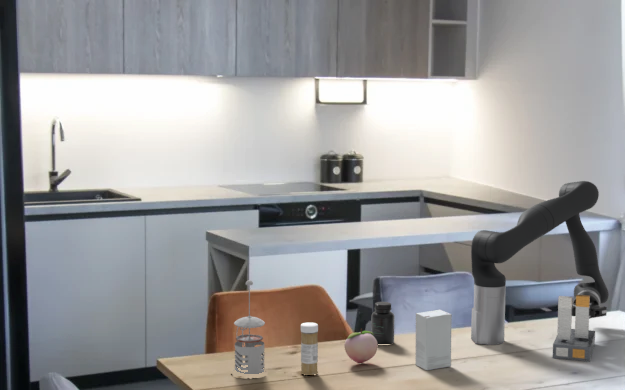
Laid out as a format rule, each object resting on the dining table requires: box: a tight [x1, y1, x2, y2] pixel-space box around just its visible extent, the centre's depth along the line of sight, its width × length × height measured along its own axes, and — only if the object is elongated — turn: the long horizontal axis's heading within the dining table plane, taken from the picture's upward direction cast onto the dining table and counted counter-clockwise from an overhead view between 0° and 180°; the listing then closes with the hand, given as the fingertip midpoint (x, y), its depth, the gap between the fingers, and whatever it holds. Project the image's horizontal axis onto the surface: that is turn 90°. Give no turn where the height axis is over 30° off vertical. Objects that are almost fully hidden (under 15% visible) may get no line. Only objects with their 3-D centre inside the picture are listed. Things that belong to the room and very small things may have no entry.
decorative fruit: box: [344, 328, 379, 364], centre depth 252 cm, size 9×8×10 cm
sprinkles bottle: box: [300, 321, 319, 376], centre depth 243 cm, size 5×5×14 cm
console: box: [552, 328, 596, 363], centre depth 267 cm, size 20×10×4 cm, turn 159°
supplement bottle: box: [370, 301, 395, 345], centre depth 274 cm, size 7×7×12 cm
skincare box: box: [415, 309, 453, 371], centre depth 250 cm, size 8×6×15 cm
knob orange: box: [574, 295, 590, 338], centre depth 264 cm, size 2×4×12 cm, turn 69°
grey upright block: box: [556, 295, 573, 340], centre depth 262 cm, size 2×4×12 cm, turn 69°
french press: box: [233, 279, 266, 374], centre depth 243 cm, size 10×12×25 cm
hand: (582, 316), depth 265 cm, fingers closed
